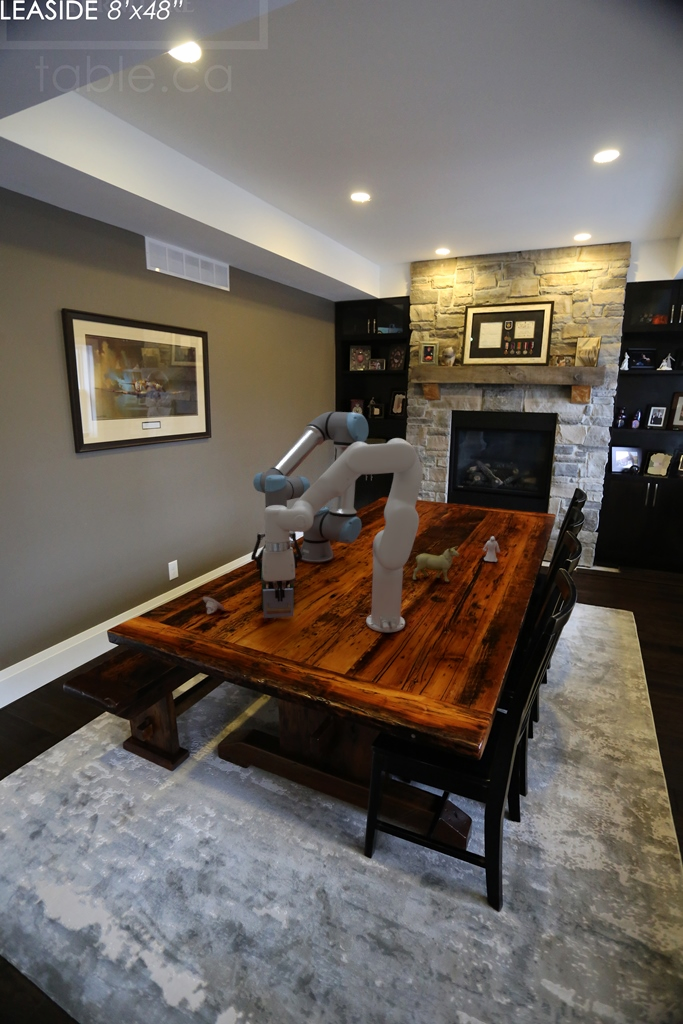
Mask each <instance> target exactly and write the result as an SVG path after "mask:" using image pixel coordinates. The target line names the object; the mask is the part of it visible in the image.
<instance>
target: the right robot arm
mask: <svg viewBox="0 0 683 1024" xmlns="http://www.w3.org/2000/svg"><path fill="white" fill-rule="evenodd" d="M390 473H393V478H392V483H391V486H390V487H391V488H390V492H389V495H388V497H387V501H386V504H385V507H384V509H383V518H384V521H385V524H384V525H385V526H384V527H383V528H384V529H382V530H380V531H379V532H378V533H376V535H375V536H374V537H373V541H372V585H371V586H372V587H371V607H370V609H371V613H370V615H368V616H367V617H366V621H365V622H366V623H365V624H366V625H367V627H368V628H369V629H372V630H373V631H376V632H379V633H396V632H398V631H402V630H403V629H404V628H405V626H406V620H405V618H403V617H402V615H401V614H402V599H403V598H402V597H403V580H404V566H405V564H407V562H408V560H409V558H410V556H411V553H412V549H413V546H414V542H415V540H416V536H417V533H418V530H419V524H420V516H419V513H418V510H417V509H416V506H417V501H418V498H419V494H420V489H421V486H422V480H423V467H422V464H421V460H420V457H419V456H418V453H417V451H416V449H415V447H414V446H413V445H412V444H411V443H409V442H408V441H407V440H405V439H403V438H400V437H395V438H392V439H389V440H388V441H387V442H386V443H374V444H373V443H372V444H371V443H370V444H368V443H367V442H355V443H353V444H351V445H350V446H349V447H348V448H347V449H346V450H345V451H344V452H343V453H342V454H341V455H340V456H339V458H338V459H337V460H336V459H335V461H333V463H332V464H331V465H330V466H329V467H328V468H327V469H326V470H325V471H324V472H323V473H322V474H321V475H320V476H319V477H318V479H317V480H316V481H314V483H312V484H311V485H310V488H309V489H308V490H307V491H306V492H305V493H304V494H303V495H302V496H301V497H300V498H297V500H296V501H295V502H294V503H293V505H292V506H291V508H288V506H287V507H285V506H282V505H272V506H268V507H266V506H265V507H266V508H265V507H264V510H263V522H264V523H263V525H264V533H265V537H264V541H265V542H264V543H265V544H266V548H265V549H264V550H263V556H262V558H261V560H262V571H263V580H261V584H262V583H263V584H266V585H270V586H271V587H273V588H274V590H275V598H278V602H279V601H281V602H283V598H285V591H284V589H285V588H286V587H287V586H288V585H289V584H290V583H294V584H295V583H296V582H297V577H296V568H295V562H294V554H293V551H294V549H293V547H292V546H294V541H293V539H291V538H290V534H289V533H290V532H295V533H303V532H304V531H307V530H309V529H310V528H311V527H312V525H313V520H314V516H315V515H316V513H317V512H318V511H319V510H320V509H321V508H322V507H325V505H326V504H328V503H329V502H330V501H331V500H334V498H335V497H338V496H340V495H342V494H343V493H344V492H345V491H346V490H347V489H348V488H349V487H350V486H351V485H352V484H353V483H354V481H355V482H356V481H357V480H358V478H359V477H361V476H362V475H378V474H379V475H380V474H390ZM265 544H264V545H265ZM277 581H282V583H281V586H280V590H279V586H278V584H277Z"/></svg>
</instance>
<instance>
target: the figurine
mask: <svg viewBox="0 0 683 1024" xmlns="http://www.w3.org/2000/svg"><path fill="white" fill-rule="evenodd" d="M482 551H483V552H486V554H485V556H484V557H483V560H484V561H485V562H495V563H498V558H497V554H496V553H498V554H499V553H501V550H500V547H499V543H498V541H497V540H496V538H495V536H493V535H492V536H490V539H489V540H487V542H486V543H485V544H484V546H483V548H482Z"/></svg>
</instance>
